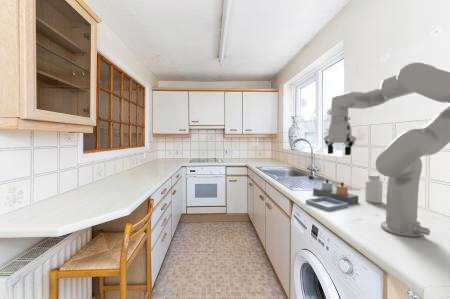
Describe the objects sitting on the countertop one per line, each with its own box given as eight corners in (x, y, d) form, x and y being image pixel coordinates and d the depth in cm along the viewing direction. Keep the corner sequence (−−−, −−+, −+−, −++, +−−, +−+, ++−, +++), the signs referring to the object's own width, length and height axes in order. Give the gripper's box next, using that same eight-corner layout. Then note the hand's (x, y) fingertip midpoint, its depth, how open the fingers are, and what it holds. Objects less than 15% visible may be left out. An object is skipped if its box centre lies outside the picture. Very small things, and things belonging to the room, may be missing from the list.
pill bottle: (371, 198, 129) (372, 173, 129) (385, 202, 122) (386, 176, 121) (361, 200, 127) (362, 174, 126) (375, 204, 119) (375, 177, 118)
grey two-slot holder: (358, 203, 120) (358, 195, 120) (348, 205, 117) (348, 197, 117) (322, 193, 142) (322, 186, 142) (313, 195, 138) (313, 188, 138)
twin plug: (332, 197, 133) (332, 179, 132) (327, 198, 131) (327, 180, 131) (326, 195, 137) (326, 178, 136) (321, 196, 135) (322, 179, 134)
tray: (348, 208, 113) (348, 203, 113) (328, 212, 107) (328, 207, 107) (324, 200, 126) (324, 196, 126) (305, 204, 120) (305, 199, 120)
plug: (347, 201, 124) (347, 182, 123) (342, 202, 122) (343, 183, 121) (340, 200, 127) (341, 181, 127) (336, 201, 126) (336, 182, 125)
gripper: (361, 119, 103) (360, 155, 104) (329, 121, 118) (329, 152, 119) (350, 118, 100) (350, 156, 101) (319, 121, 115) (319, 153, 116)
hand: (338, 154), depth 110 cm, fingers open, 9 cm apart
